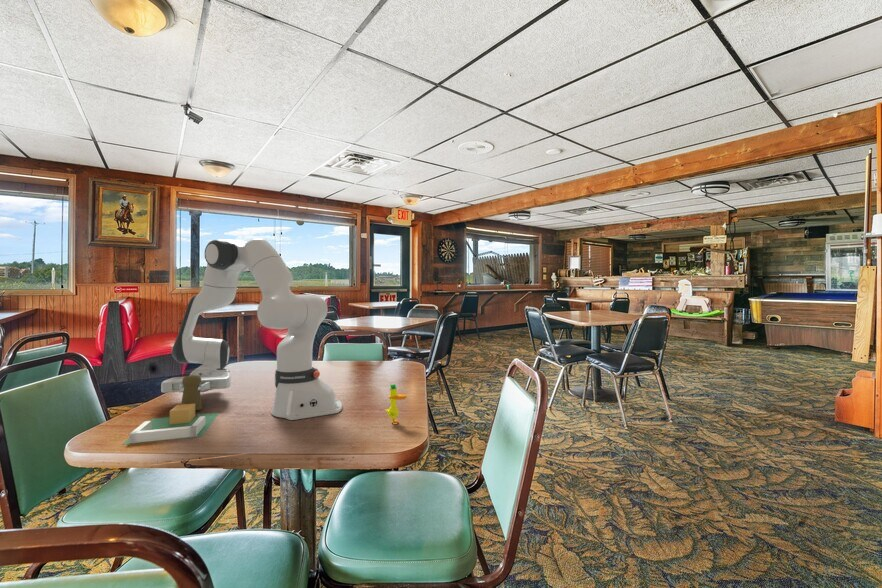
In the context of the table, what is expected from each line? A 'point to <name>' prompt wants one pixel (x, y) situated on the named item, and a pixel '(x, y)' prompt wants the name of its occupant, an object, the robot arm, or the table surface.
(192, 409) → the yellow block
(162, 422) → the mat
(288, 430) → the table surface
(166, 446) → the table surface
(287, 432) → the table surface
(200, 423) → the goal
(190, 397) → the cork
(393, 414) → the toy figure
